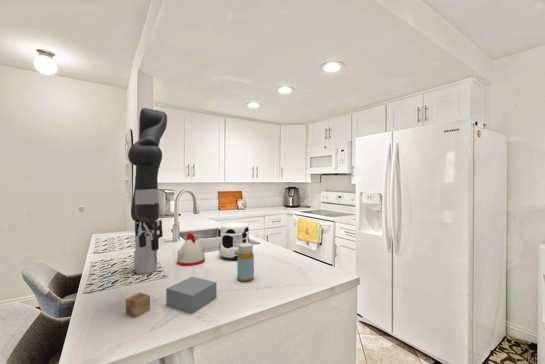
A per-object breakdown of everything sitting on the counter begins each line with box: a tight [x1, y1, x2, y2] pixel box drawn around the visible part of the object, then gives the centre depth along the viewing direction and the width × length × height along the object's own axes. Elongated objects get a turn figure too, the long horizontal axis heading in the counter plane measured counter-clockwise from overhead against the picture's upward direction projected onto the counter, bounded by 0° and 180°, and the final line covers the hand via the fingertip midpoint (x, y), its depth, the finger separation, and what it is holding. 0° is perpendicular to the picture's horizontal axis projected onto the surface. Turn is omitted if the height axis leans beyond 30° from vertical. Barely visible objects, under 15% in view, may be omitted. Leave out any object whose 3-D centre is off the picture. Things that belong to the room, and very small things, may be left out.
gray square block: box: [165, 276, 218, 314], centre depth 90 cm, size 12×12×6 cm
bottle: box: [236, 242, 255, 283], centre depth 109 cm, size 7×7×15 cm
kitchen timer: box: [176, 232, 206, 267], centre depth 132 cm, size 14×14×15 cm
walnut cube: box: [125, 292, 151, 318], centre depth 82 cm, size 5×5×5 cm
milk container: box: [218, 221, 250, 260], centre depth 141 cm, size 17×17×18 cm
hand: (148, 248), depth 88 cm, fingers open, 8 cm apart
